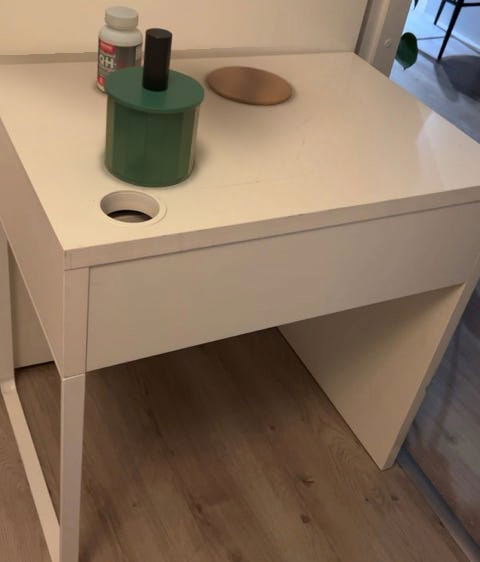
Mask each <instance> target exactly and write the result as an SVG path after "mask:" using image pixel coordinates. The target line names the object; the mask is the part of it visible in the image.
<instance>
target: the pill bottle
mask: <svg viewBox="0 0 480 562" xmlns="http://www.w3.org/2000/svg"><path fill="white" fill-rule="evenodd" d="M139 16H140V15H139V12H138V11H137V10H135V9H133V8H131V7H128V6H121V5H112V6H109V7H106V8H105V11H104V23H105V25H102V26H101V28H100V29H99V30H98V41H97V43H98V44H97V70H96V71H97V72H96V86H97V87H98V88H99V90H100V91H101V92H104V93H105V91H104V80H105V78H106V76H107V75H108V74H110V73H111V72H113V71H115V70H118V69H122V68H127V67H134V66H142V57H143V44H144V35H143V33H142V31H141V30H140V29H139V28H137V27H138V26H139Z"/></svg>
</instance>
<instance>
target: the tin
mask: <svg viewBox="0 0 480 562" xmlns="http://www.w3.org/2000/svg"><path fill="white" fill-rule="evenodd" d="M105 111H106V115H105V137H104V139H105V142H104V165H105V167H106V169H107V171H108V172H109V173H110V174H111V175H113V176H114V177H115V178H116V179H119V180H120V181H123V182H125V183H128V184H132V185H135V186H140V187H147V188H162V187H171V186H173V185H177V184H180V183H182V182H183V181H186V179H188V178H189V177H190V175H191V173H192V169H193V167H194V162H195V161H194V160H195V153H196V143H197V137H198V136H197V135H198V129H199V119H200V112H201V104H200V105H199V106H198V107H196V108H194V109H192V110H189V111H185V112H180V113H167V114H163V113H150V112H144V111H139V110H135V109H131V108H128V107H126V106H123V105H121V104H119V103H117V102H115V101H114V100H112V99H111V98H110V97H109V96H108V95H107V94H106V110H105Z"/></svg>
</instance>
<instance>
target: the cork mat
mask: <svg viewBox="0 0 480 562" xmlns="http://www.w3.org/2000/svg"><path fill="white" fill-rule="evenodd" d="M207 83H208V85H209V88H211V89H212V91H214V92H215V93H217V94H218V95H220V96H222V97H224V98H225V99H229V100H232V101H235V102H238V103H241V104H248V105H254V106H255V105H257V106H271V105H278V104H281V103H284V102H286V101H288V100H289V99H290V98H291V97H292V94H293V88H292V85H290V83H289V82H288V81H287V80H285V79H284V78H283V77H281V76H279V75H277V74H275V73H273V72H270V71H267V70H264V69H260V68H255V67H250V66H240V65H239V66H237V65H236V66H233V65H232V66H223V67H220V68H216V69H215V70H213V71H211V72H210V73H209V74H208V78H207Z"/></svg>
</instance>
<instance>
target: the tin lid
mask: <svg viewBox="0 0 480 562" xmlns="http://www.w3.org/2000/svg"><path fill="white" fill-rule="evenodd" d="M144 33H145V34H144V48H143V49H144V50H143V64H142V65H141V66H134V67H127V68H122V69H118V70H115V71H113V72H111V73H110V74H108V75H107V76H106V78H105V80H104V91H105V92H104V91H103V92H104V93H105V94H106V96H107V95H108V96H109V97H110V98H111V99H112V100H114V101H115V102H117V103H119V104H121V105H123V106H126V107H128V108H131V109H135V110H139V111H144V112H150V113H163V114H167V113H180V112H185V111H189V110H192V109H194V108H196V107H198V106H199V105H200V106H201V105H202V103H203V102H204V100H205V94H206V91H205V88H204V87H203V85H202V84H201V83H200V82H199V81H198V80H197V79H195V78H193V77H192V76H190V75H188V74H186V73H183V72H181V71H178V70H173V69H171V67H170V66H171V55H172V43H173V33H172V32H171V31H169V29H164V28H159V27H151V28H148V29H146V30H145V32H144Z"/></svg>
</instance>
